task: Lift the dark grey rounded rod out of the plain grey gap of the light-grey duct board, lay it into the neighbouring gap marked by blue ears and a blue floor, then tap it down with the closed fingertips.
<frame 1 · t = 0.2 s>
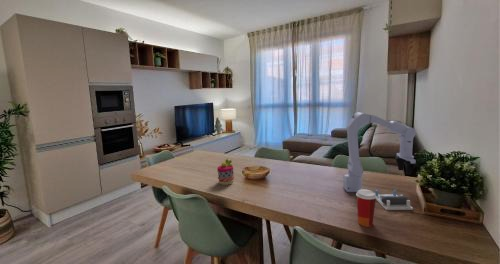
hand: (404, 172, 132), 10 cm above the table, fingers open, 7 cm apart
paper cup: (365, 223, 102), on the table
duct board: (391, 202, 119), on the table
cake: (226, 182, 157), on the table
dark grey rounded rod: (394, 203, 115), point 1 cm above the table, touching duct board
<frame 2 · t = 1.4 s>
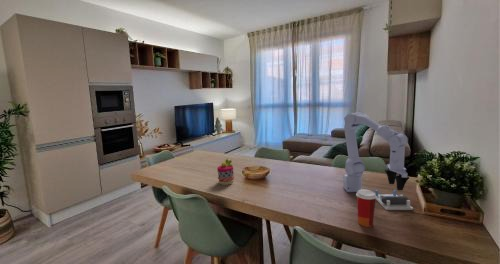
hand: (395, 186, 114), 10 cm above the table, fingers open, 7 cm apart
nothing on the table moved.
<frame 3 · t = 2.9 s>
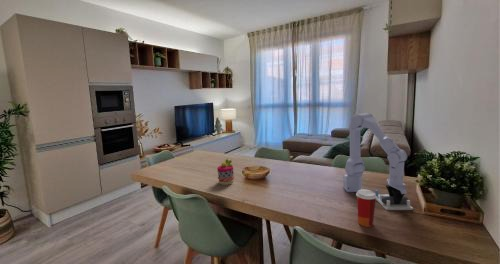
hand: (394, 201, 115), 2 cm above the table, fingers closed on dark grey rounded rod, 4 cm apart
dark grey rounded rod: (394, 203, 115), point 1 cm above the table, touching duct board, gripper
everything else where it was.
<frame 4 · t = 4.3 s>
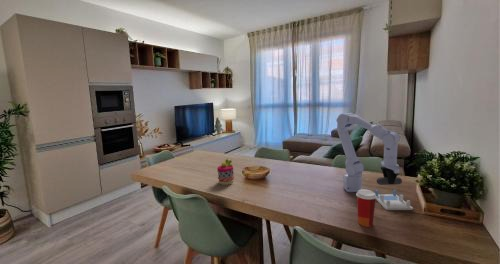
hand: (389, 182, 120), 9 cm above the table, fingers closed on dark grey rounded rod, 4 cm apart
dark grey rounded rod: (389, 184, 120), point 8 cm above the table, touching gripper
everything else where it was.
when the fingers open (3 cm above the table, at t = 5.8 s): dark grey rounded rod stays where it is, resting on duct board.
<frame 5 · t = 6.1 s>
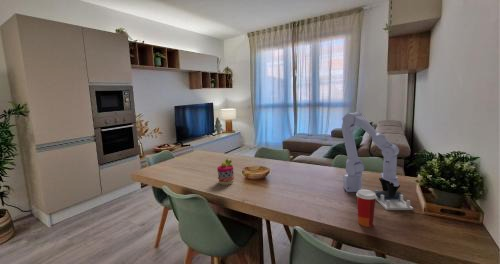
hand: (388, 194, 121), 3 cm above the table, fingers open, 6 cm apart
dark grey rounded rod: (388, 197, 122), point 1 cm above the table, touching duct board
everything else where it was.
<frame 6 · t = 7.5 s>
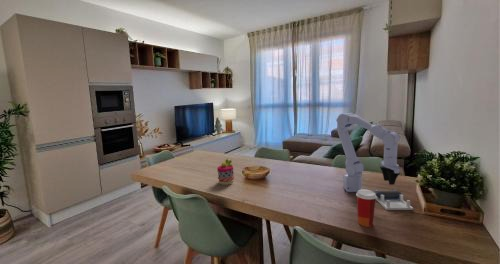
hand: (389, 182, 120), 9 cm above the table, fingers open, 5 cm apart
nothing on the table moved.
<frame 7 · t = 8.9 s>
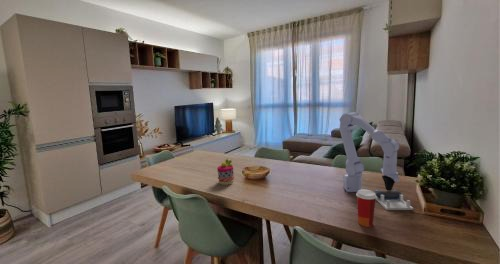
hand: (388, 190, 121), 5 cm above the table, fingers closed
nothing on the table moved.
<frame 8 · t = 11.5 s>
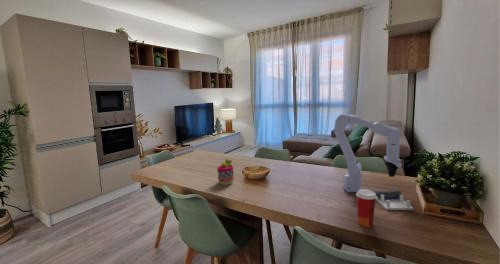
hand: (391, 176, 126), 10 cm above the table, fingers closed
nothing on the table moved.
at the end: dark grey rounded rod 0.0 cm from the target spot on the duct board, point 1.1 cm above the duct board's base; the gripper is holding nothing; dark grey rounded rod touching duct board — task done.
